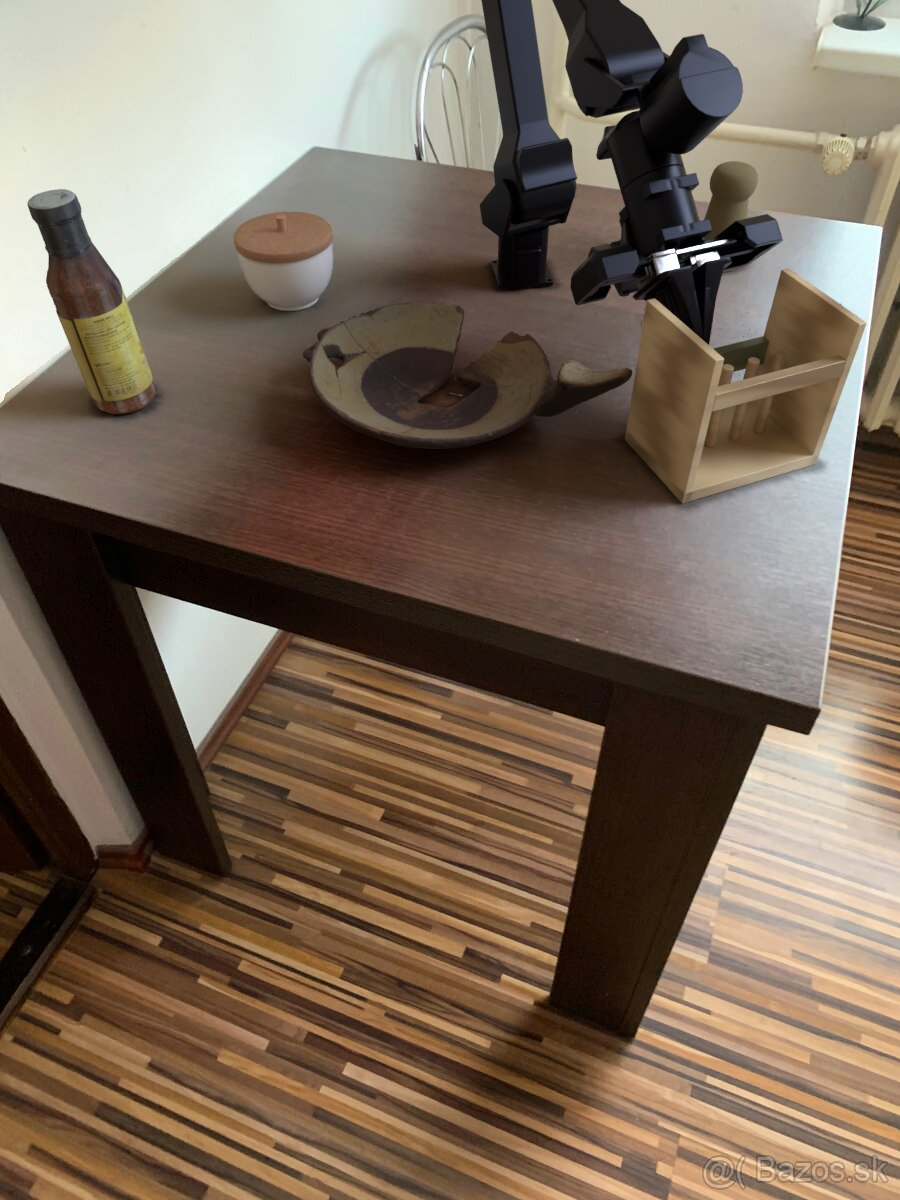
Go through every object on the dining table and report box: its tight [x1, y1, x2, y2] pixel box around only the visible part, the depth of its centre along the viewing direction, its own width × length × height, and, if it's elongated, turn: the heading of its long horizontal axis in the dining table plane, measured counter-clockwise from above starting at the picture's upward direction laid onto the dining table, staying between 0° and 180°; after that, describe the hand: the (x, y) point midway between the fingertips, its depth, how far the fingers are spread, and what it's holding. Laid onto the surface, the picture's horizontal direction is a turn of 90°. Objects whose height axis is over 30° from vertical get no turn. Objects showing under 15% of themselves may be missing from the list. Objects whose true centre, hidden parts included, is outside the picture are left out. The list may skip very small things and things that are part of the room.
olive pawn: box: [703, 160, 759, 273], centre depth 103 cm, size 6×6×11 cm
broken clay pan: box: [302, 301, 633, 450], centre depth 83 cm, size 22×30×8 cm
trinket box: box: [233, 211, 334, 312], centre depth 98 cm, size 11×11×9 cm
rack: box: [624, 268, 868, 504], centre depth 76 cm, size 10×14×14 cm
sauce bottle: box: [27, 188, 156, 415], centre depth 81 cm, size 7×6×20 cm
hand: (702, 352), depth 79 cm, fingers closed, pressing on rack
